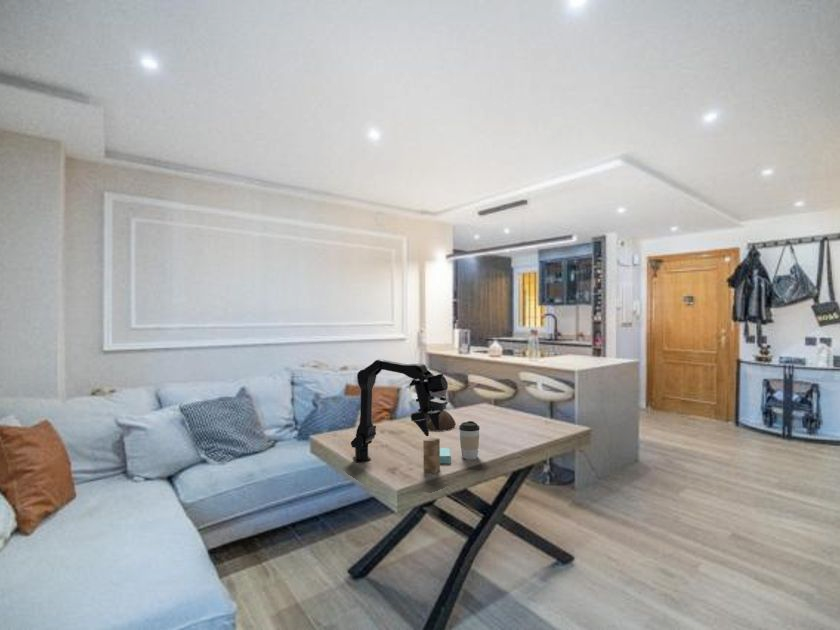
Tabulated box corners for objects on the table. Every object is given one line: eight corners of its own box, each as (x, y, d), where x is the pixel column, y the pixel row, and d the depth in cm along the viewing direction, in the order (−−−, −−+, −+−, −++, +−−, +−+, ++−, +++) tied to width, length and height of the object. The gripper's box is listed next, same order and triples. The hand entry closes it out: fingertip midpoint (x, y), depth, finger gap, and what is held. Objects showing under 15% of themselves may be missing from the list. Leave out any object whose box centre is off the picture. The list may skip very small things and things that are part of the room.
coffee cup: (477, 461, 178) (476, 426, 178) (456, 458, 181) (456, 424, 181) (482, 454, 186) (481, 421, 186) (462, 452, 190) (462, 419, 190)
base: (424, 463, 176) (424, 456, 176) (424, 454, 187) (424, 448, 187) (450, 463, 176) (450, 456, 176) (449, 454, 187) (449, 447, 187)
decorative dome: (457, 431, 226) (457, 412, 226) (420, 431, 226) (420, 413, 226) (455, 422, 245) (454, 405, 245) (421, 422, 246) (421, 405, 246)
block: (423, 471, 167) (423, 440, 167) (428, 467, 172) (428, 437, 172) (435, 473, 165) (434, 441, 165) (439, 468, 170) (439, 438, 170)
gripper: (430, 395, 157) (440, 436, 155) (450, 387, 173) (459, 424, 172) (406, 400, 162) (415, 440, 160) (427, 391, 179) (436, 428, 177)
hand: (432, 432), depth 167 cm, fingers open, 9 cm apart
